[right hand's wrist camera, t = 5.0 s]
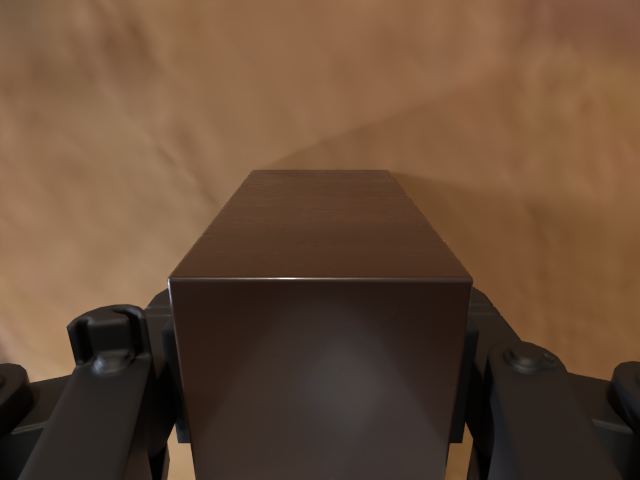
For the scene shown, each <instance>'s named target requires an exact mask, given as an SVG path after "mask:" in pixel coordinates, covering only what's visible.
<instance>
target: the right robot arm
mask: <svg viewBox="0 0 640 480" xmlns="http://www.w3.org/2000/svg"><path fill="white" fill-rule="evenodd" d="M67 330H68V334H69V339H70V343H71V347H72V351H73V355H74V359H75V363H76V367H75V369H74V371H73V373H72V374H71V375H67V376H63V377H58V378H53V379H48V380H43V381H38V382H33V383H30V382H29V378H28V375H27V372H26V370H25V369H24V368H23V367H22V366H20V365H16V364H10V363H5V364H0V480H167V477H168V470H169V462H170V458H169V450H168V444H167V440H168V438H169V436H170V433H171V431H172V429H173V426H174V424H175V426H176V432H177V439H178V443H190V436H189V429H188V422H187V415H186V408H185V401H184V394H183V387H182V380H181V373H180V366H179V359H178V352H177V345H176V338H175V331H174V324H173V317H172V310H171V303H170V296H169V289H168V288H167V289H165V290H164V291H162V292H161V293H159V294H157V295H156V296H155V297H154V298H153V300H152V301H151V302H150V303H149V305H148V306H147V308H146V309H145V310H143V309H141V308H140V307H138V306H133V305H129V304H123V305H110V306H105V307H100V308H97V309H94V310H91V311H89V312H86V313H84V314H82V315H81V316H79V317H77V318H75V319H74V320H73V321H72V322H71V323H70V324H69V325H68V326H67ZM465 421H466V424H467V426H468V428H469V431H470V433H471V435H472V438H473V444H472V450H471V456H470V462H469V468H468V474H467V480H640V362H635V361H631V362H625V363H620V364H619V365H618V366H617V367H616V368H615V369H614V372H613V376H612V379H611V381H607V380H602V379H597V378H591V377H586V376H581V375H577V374H573V373H569V372H567V370H566V368H565V366H564V364H563V363H562V362H561V361H560V360H559V358H558V357H557V356H555V355H554V354H552V353H551V352H549V351H548V350H546V349H545V348H542V347H540V346H537V345H535V344H532V343H528V342H524V341H521V340H520V338H519V337H518V336H517V334H516V333H515V332H514V331H513V329H512V328H511V327H510V326H509V324H508V323H507V322H506V320H505V319H504V318H503V317H502V316H500V313H499V312H498V310H497V309H496V308H495V307H493V304H492V303H491V301H490V300H489V299H488V298H487V296H486V295H485V294H484V293H482V292H480V291H479V290H477V289H476V288H474V287H472V293H471V300H470V307H469V313H468V320H467V327H466V334H465V341H464V348H463V355H462V362H461V369H460V376H459V383H458V390H457V397H456V404H455V411H454V418H453V424H452V431H451V438H450V443H462V440H463V433H464V427H465Z"/></svg>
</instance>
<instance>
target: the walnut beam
mask: <svg viewBox="0 0 640 480" xmlns="http://www.w3.org/2000/svg"><path fill="white" fill-rule="evenodd" d="M167 282H168V289H169V296H170V303H171V310H172V317H173V324H174V331H175V338H176V345H177V352H178V359H179V366H180V373H181V380H182V387H183V394H184V401H185V408H186V415H187V422H188V429H189V436H190V443H191V450H192V457H193V464H194V471H195V478H196V480H445V473H446V466H447V459H448V452H449V445H450V438H451V431H452V424H453V418H454V411H455V404H456V397H457V390H458V383H459V376H460V369H461V362H462V355H463V348H464V341H465V334H466V327H467V320H468V313H469V307H470V300H471V293H472V286H473V278H472V277H471V275H470V274H469V273H468V271H467V270H466V269H465V268H464V266H463V265H462V264H461V263H460V261H459V260H458V259H457V258H456V256H455V255H454V254H453V252H452V251H451V250H450V249H449V247H448V246H447V245H446V244H445V242H444V241H443V240H442V239H441V237H440V236H439V235H438V233H437V232H436V231H435V230H434V228H433V227H432V226H431V225H430V223H429V222H428V221H427V220H426V218H425V217H424V216H423V214H422V213H421V212H420V211H419V209H418V208H417V207H416V206H415V204H414V203H413V202H412V201H411V199H410V198H409V197H408V196H407V194H406V193H405V192H404V190H403V189H402V188H401V187H400V185H399V184H398V183H397V182H396V180H395V179H394V178H393V177H392V175H391V174H390V173H389V171H387V170H253V171H252V172H251V173H250V174H249V175H248V177H247V178H246V179H245V181H244V182H243V183H242V184H241V186H240V187H239V188H238V189H237V191H236V192H235V193H234V194H233V196H232V197H231V198H230V200H229V201H228V202H227V203H226V205H225V206H224V207H223V208H222V210H221V211H220V212H219V214H218V215H217V216H216V217H215V219H214V220H213V221H212V222H211V224H210V225H209V226H208V228H207V229H206V230H205V231H204V233H203V234H202V235H201V236H200V238H199V239H198V240H197V241H196V243H195V244H194V245H193V247H192V248H191V249H190V250H189V252H188V253H187V254H186V255H185V257H184V258H183V259H182V261H181V262H180V263H179V264H178V266H177V267H176V268H175V269H174V271H173V272H172V273H171V274H170V276H169V277H168V280H167Z"/></svg>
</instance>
